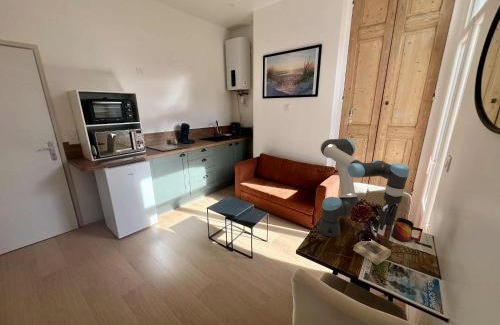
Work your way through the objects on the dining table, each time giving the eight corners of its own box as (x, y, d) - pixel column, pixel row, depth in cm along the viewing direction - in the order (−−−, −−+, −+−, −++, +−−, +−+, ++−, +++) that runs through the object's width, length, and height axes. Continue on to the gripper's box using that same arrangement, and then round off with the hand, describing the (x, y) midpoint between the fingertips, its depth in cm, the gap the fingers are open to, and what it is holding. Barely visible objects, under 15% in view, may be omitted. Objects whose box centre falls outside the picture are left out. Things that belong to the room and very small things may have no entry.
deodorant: (373, 235, 113) (379, 212, 109) (382, 233, 115) (388, 210, 110) (382, 242, 108) (388, 218, 103) (391, 240, 109) (398, 216, 104)
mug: (420, 243, 128) (424, 226, 125) (397, 242, 130) (400, 225, 126) (409, 234, 138) (414, 218, 134) (388, 232, 139) (391, 217, 135)
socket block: (353, 250, 123) (354, 245, 122) (366, 242, 130) (367, 237, 129) (377, 265, 111) (378, 259, 110) (390, 255, 118) (391, 250, 117)
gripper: (392, 201, 95) (381, 242, 102) (410, 192, 104) (400, 230, 112) (375, 195, 101) (367, 234, 108) (394, 186, 111) (385, 223, 118)
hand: (383, 232), depth 110 cm, fingers closed on deodorant, 6 cm apart
